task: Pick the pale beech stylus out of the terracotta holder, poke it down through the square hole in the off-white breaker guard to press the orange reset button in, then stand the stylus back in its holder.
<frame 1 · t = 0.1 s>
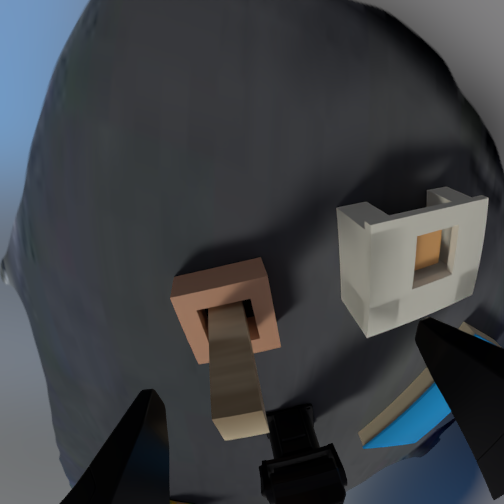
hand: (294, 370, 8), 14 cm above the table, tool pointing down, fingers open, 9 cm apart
stylus: (232, 352, 19), in the stylus holder
book: (432, 385, 38), on the table
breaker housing: (398, 229, 24), on the table
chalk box: (172, 503, 49), on the table
stylus holder: (227, 303, 24), on the table
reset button: (419, 244, 21), point 3 cm above the table, slide at 0.0 cm
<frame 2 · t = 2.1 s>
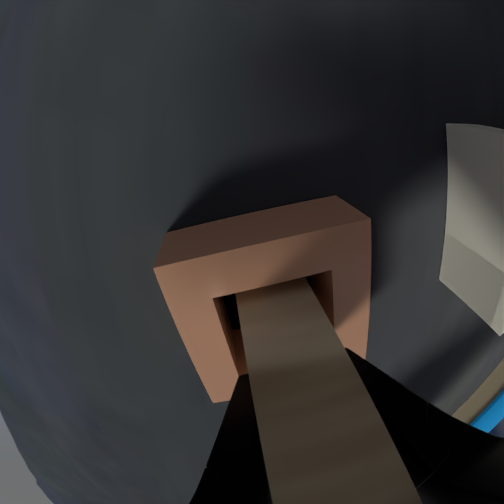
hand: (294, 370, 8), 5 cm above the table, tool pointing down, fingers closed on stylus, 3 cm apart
stylus: (302, 393, 8), in the stylus holder, touching gripper
book: (486, 393, 27), on the table
stylus holder: (266, 286, 13), on the table
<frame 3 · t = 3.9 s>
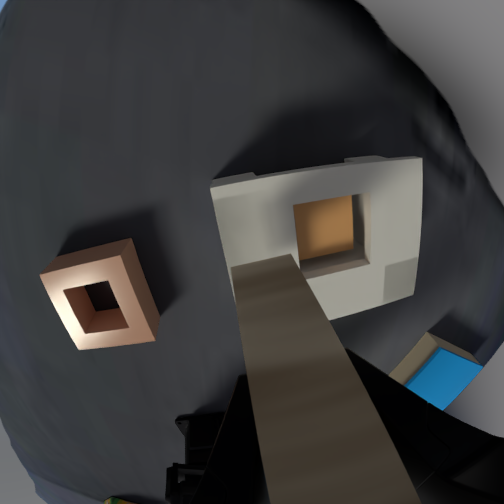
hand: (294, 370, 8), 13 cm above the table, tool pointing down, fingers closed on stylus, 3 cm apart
stylus: (301, 393, 8), point 14 cm above the table, touching gripper
book: (393, 403, 35), on the table
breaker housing: (305, 208, 20), on the table
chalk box: (124, 502, 44), on the table
stylus holder: (106, 287, 21), on the table
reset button: (321, 223, 18), point 3 cm above the table, slide at 0.0 cm
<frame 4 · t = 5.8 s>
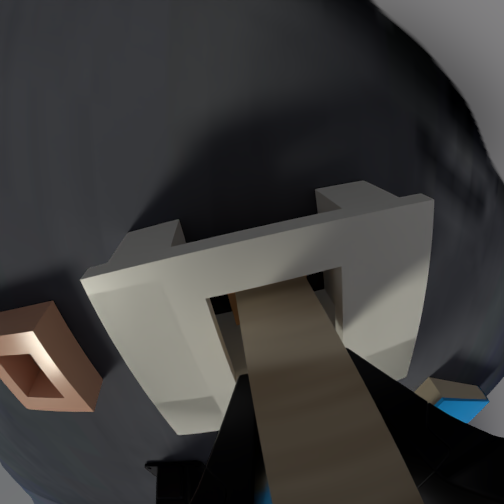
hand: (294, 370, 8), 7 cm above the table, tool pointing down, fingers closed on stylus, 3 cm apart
stylus: (302, 392, 8), point 8 cm above the table, touching gripper, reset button
book: (389, 440, 30), on the table
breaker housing: (259, 262, 15), on the table
stylus holder: (43, 348, 16), on the table
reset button: (264, 277, 14), point 2 cm above the table, slide at 1.7 cm, touching stylus
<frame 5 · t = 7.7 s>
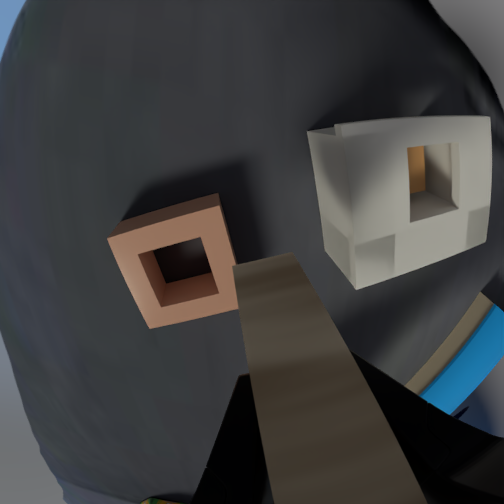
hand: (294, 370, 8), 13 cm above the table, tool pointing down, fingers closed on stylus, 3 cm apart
stylus: (303, 391, 8), point 14 cm above the table, touching gripper
book: (445, 369, 34), on the table
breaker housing: (388, 163, 19), on the table
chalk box: (162, 502, 45), on the table
stylus holder: (182, 253, 20), on the table
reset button: (399, 167, 18), point 2 cm above the table, slide at 1.7 cm
when the fingers open (6 cm above the table, at t = 9.7 s): stylus stays where it is, resting in stylus holder.
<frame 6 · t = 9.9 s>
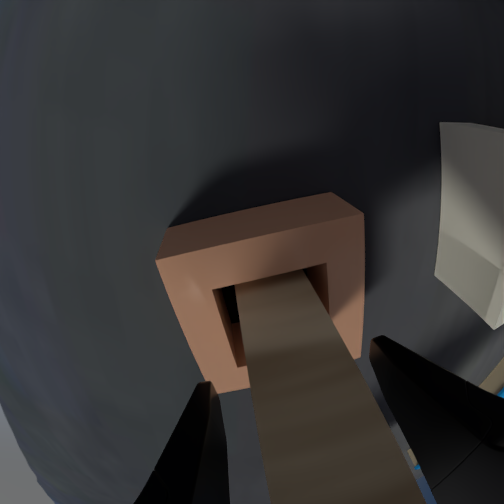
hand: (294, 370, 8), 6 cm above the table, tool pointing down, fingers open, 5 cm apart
stylus: (298, 378, 8), in the stylus holder
book: (487, 390, 28), on the table
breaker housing: (500, 174, 13), on the table
stylus holder: (264, 281, 13), on the table
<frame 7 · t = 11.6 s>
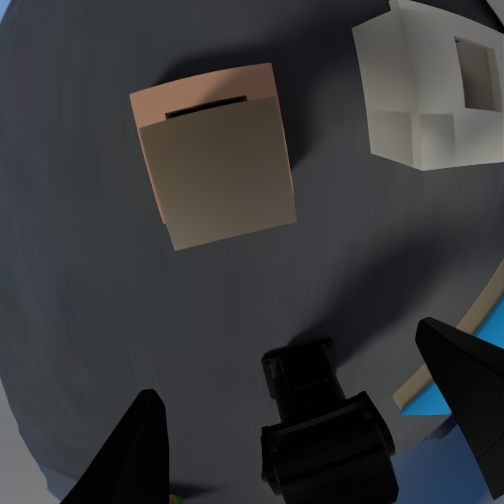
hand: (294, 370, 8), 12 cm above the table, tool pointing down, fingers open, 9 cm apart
stylus: (215, 145, 11), in the stylus holder
book: (472, 336, 31), on the table
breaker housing: (427, 75, 15), on the table
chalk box: (155, 494, 42), on the table
stylus holder: (212, 137, 16), on the table
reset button: (440, 75, 14), point 2 cm above the table, slide at 1.7 cm
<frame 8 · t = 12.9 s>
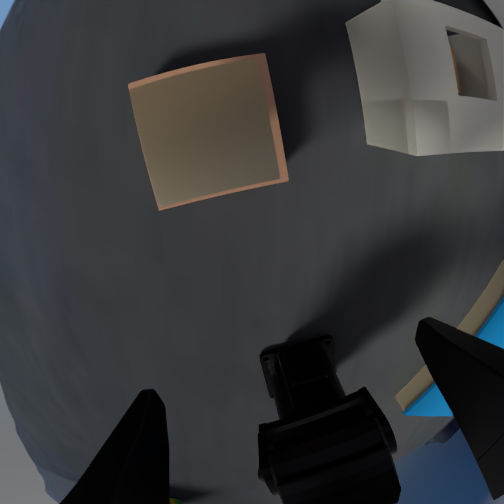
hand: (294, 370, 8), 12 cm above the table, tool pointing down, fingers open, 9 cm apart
stylus: (208, 128, 11), in the stylus holder
book: (476, 335, 31), on the table
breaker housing: (421, 68, 15), on the table
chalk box: (153, 497, 41), on the table
stylus holder: (209, 128, 16), on the table
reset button: (434, 67, 14), point 2 cm above the table, slide at 1.7 cm
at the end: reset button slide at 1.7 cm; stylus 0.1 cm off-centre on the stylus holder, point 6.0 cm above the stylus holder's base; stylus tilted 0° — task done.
